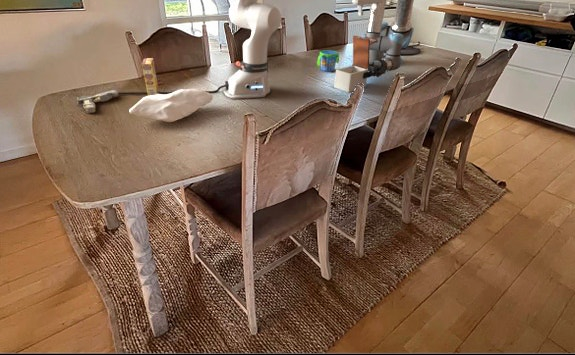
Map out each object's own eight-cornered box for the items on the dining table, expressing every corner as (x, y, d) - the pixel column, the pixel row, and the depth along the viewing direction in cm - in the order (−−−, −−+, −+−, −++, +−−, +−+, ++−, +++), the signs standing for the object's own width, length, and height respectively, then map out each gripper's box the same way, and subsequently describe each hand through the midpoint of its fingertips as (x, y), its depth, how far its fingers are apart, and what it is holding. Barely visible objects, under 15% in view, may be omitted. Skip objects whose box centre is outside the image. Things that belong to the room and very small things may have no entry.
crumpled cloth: (117, 110, 146) (113, 90, 140) (195, 92, 166) (194, 73, 160) (143, 139, 134) (140, 118, 128) (223, 116, 154) (224, 96, 148)
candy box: (157, 97, 164) (152, 63, 155) (147, 98, 163) (141, 63, 155) (158, 91, 171) (153, 57, 163) (149, 91, 170) (143, 58, 162)
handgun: (128, 97, 156) (111, 87, 164) (86, 107, 144) (70, 97, 152) (129, 103, 157) (113, 94, 165) (88, 114, 146) (72, 103, 154)
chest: (348, 92, 179) (350, 74, 175) (333, 87, 185) (335, 69, 180) (365, 87, 187) (368, 69, 182) (351, 82, 193) (353, 65, 188)
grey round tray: (430, 51, 257) (433, 37, 253) (397, 56, 240) (399, 42, 235) (392, 44, 282) (394, 31, 277) (360, 48, 264) (361, 35, 260)
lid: (368, 39, 173) (380, 33, 177) (352, 36, 178) (364, 30, 182) (367, 68, 182) (378, 62, 186) (352, 64, 188) (363, 58, 192)
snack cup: (332, 66, 217) (333, 48, 212) (343, 70, 210) (345, 52, 204) (311, 69, 210) (312, 51, 204) (322, 74, 202) (324, 55, 197)
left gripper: (362, -18, 156) (358, 17, 163) (390, -19, 168) (384, 13, 175) (351, -19, 160) (347, 15, 167) (378, -20, 172) (374, 11, 179)
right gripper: (397, 78, 192) (372, 86, 180) (363, 68, 206) (337, 75, 193) (400, 63, 188) (374, 71, 175) (365, 54, 202) (339, 60, 189)
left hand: (366, 14), depth 171 cm, fingers open, 8 cm apart
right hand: (355, 73), depth 184 cm, fingers open, 10 cm apart
